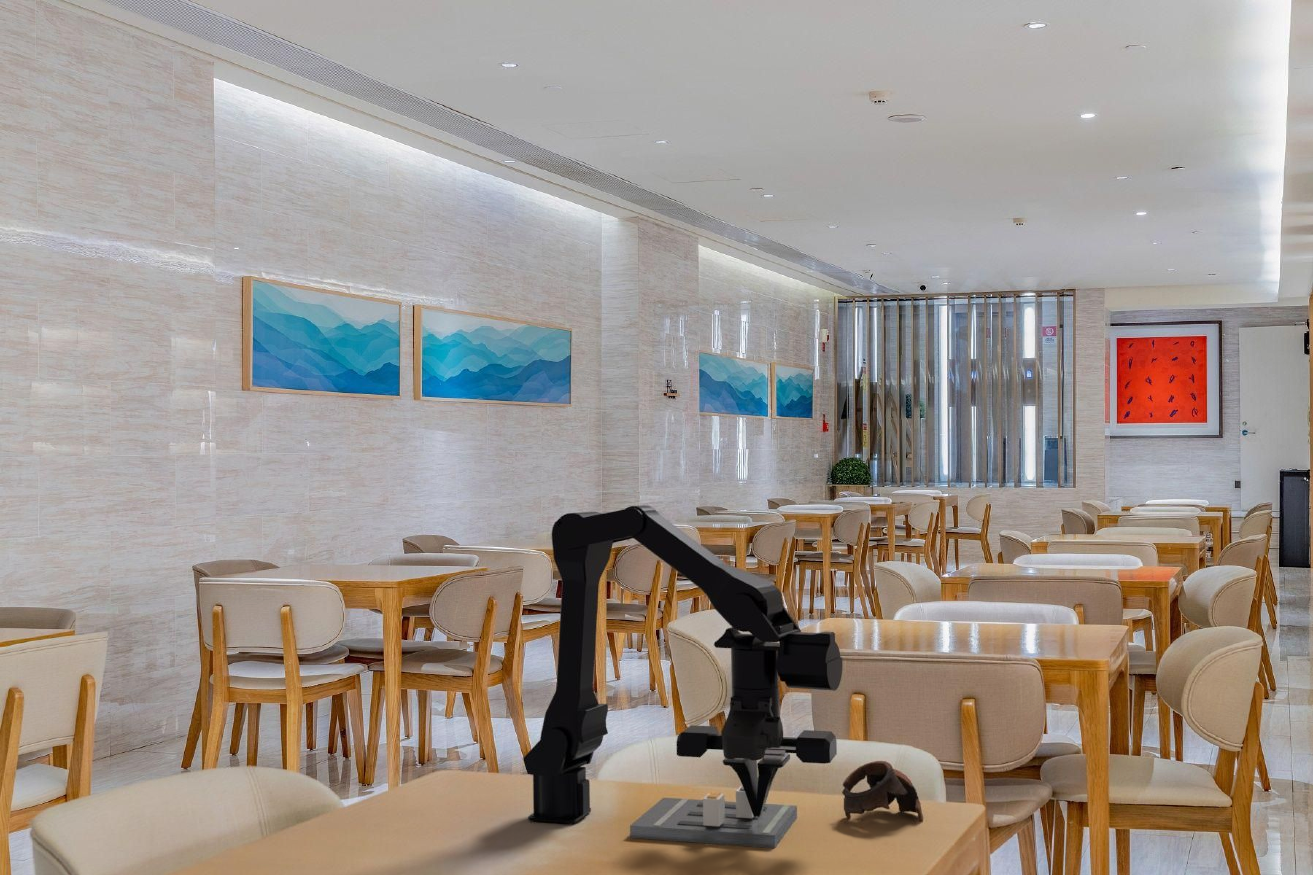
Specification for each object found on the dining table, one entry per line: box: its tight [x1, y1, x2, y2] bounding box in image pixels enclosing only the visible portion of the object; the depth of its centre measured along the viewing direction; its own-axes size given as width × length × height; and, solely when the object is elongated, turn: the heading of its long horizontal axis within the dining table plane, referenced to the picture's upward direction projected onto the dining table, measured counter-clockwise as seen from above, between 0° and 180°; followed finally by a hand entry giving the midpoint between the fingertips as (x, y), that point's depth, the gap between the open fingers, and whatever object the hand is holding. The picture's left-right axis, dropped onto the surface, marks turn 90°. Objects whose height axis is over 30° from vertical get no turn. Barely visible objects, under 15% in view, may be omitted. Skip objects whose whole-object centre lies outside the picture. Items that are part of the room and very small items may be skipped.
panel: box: [629, 797, 798, 849], centre depth 158 cm, size 18×14×2 cm
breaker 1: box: [702, 791, 726, 826], centre depth 154 cm, size 2×3×3 cm
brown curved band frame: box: [841, 760, 924, 823], centre depth 162 cm, size 12×10×8 cm
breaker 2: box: [735, 785, 754, 818], centre depth 157 cm, size 2×3×3 cm
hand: (757, 815), depth 152 cm, fingers closed
